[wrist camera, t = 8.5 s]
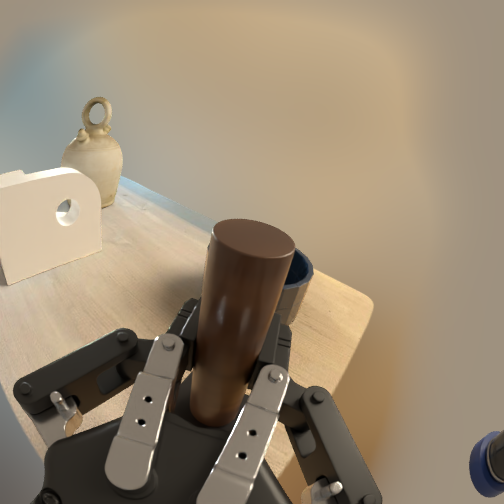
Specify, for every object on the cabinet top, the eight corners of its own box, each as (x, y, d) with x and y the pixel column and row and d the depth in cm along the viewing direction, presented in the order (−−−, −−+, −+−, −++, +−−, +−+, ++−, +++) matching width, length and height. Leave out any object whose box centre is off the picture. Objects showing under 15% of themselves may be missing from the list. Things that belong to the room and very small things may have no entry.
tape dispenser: (8, 285, 28) (-10, 191, 21) (-3, 251, 32) (-14, 172, 26) (102, 250, 42) (102, 167, 35) (76, 225, 47) (76, 154, 40)
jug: (91, 187, 66) (99, 97, 54) (132, 199, 64) (144, 98, 52) (49, 203, 52) (54, 98, 41) (89, 219, 50) (97, 96, 39)
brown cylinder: (254, 423, 17) (335, 243, 10) (228, 466, 13) (311, 295, 7) (193, 390, 18) (221, 200, 12) (160, 427, 15) (155, 226, 8)
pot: (308, 293, 45) (322, 256, 41) (278, 348, 32) (296, 305, 29) (231, 260, 49) (239, 223, 46) (181, 299, 37) (185, 254, 33)
